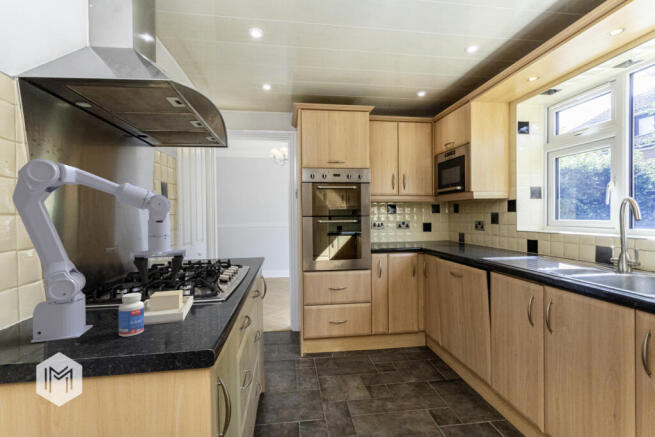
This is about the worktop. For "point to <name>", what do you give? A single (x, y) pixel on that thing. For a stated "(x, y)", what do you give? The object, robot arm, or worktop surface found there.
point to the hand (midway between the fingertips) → (160, 282)
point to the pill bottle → (131, 315)
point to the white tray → (167, 313)
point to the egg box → (166, 300)
